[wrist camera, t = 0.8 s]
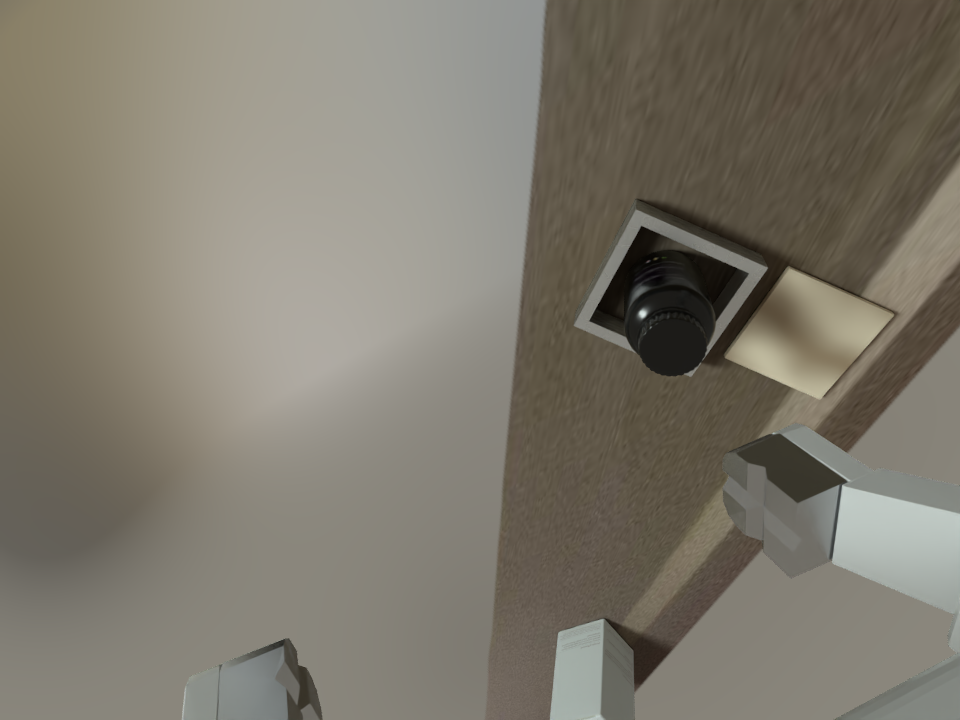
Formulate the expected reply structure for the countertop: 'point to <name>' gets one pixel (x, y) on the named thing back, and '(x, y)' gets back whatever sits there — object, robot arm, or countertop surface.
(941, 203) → the countertop surface
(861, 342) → the birch pad
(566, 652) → the supplement box
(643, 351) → the supplement bottle
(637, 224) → the steel holder
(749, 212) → the countertop surface
